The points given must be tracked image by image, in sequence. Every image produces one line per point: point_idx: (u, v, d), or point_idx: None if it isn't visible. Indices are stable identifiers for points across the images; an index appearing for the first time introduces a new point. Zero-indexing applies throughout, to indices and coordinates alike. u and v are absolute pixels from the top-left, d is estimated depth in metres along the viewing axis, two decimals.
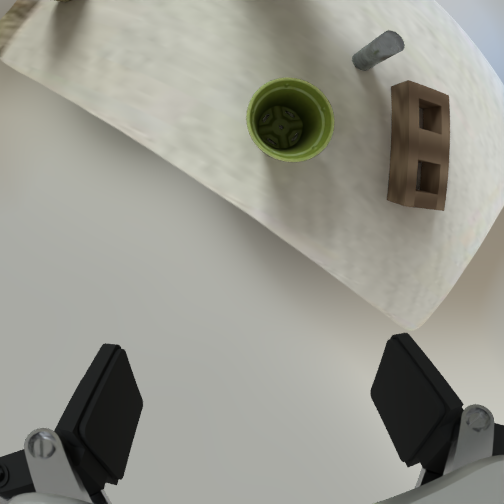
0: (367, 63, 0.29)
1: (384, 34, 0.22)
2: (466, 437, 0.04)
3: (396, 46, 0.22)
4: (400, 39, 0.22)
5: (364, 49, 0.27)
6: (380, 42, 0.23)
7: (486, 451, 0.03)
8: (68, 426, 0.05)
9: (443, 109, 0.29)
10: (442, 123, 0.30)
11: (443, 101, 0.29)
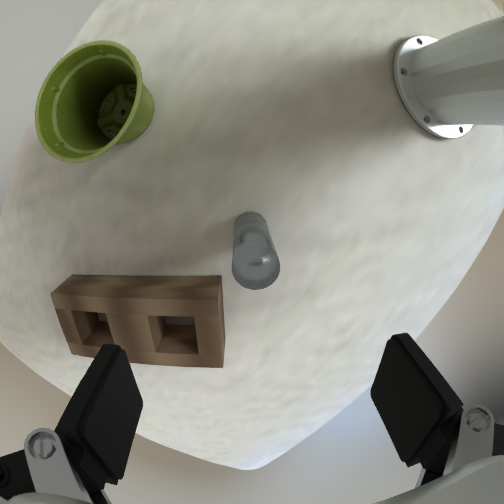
0: (235, 230, 0.24)
1: (264, 248, 0.17)
2: (466, 437, 0.04)
3: (244, 272, 0.18)
4: (264, 282, 0.18)
5: (255, 223, 0.22)
6: (248, 241, 0.18)
7: (486, 451, 0.03)
8: (68, 426, 0.05)
9: (195, 357, 0.26)
10: (172, 354, 0.26)
11: (208, 358, 0.26)
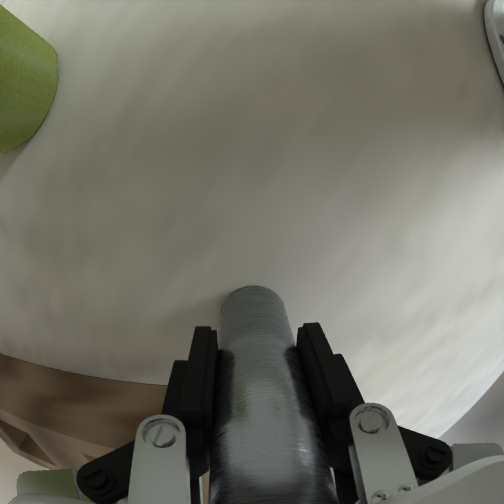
0: (218, 347, 0.10)
1: None
2: (365, 444, 0.05)
3: None
4: None
5: (267, 347, 0.08)
6: (256, 486, 0.04)
7: (370, 457, 0.04)
8: (192, 406, 0.06)
9: None
10: None
11: None
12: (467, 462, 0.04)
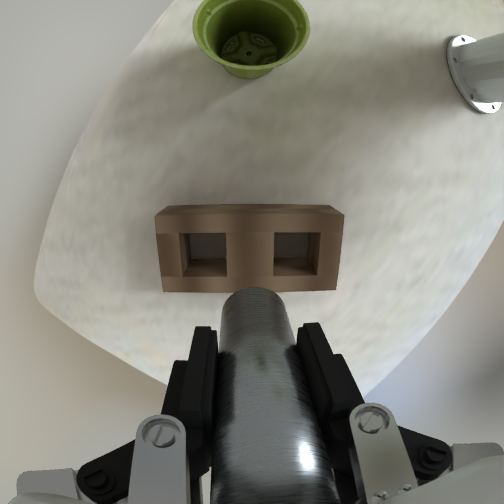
0: (219, 348, 0.10)
1: None
2: (365, 444, 0.05)
3: None
4: None
5: (268, 349, 0.08)
6: (258, 488, 0.04)
7: (370, 457, 0.04)
8: (192, 406, 0.06)
9: (312, 278, 0.28)
10: (290, 277, 0.28)
11: (324, 279, 0.28)
12: (467, 462, 0.04)
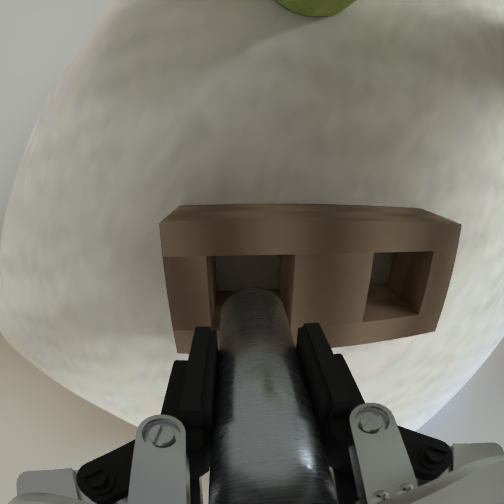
0: (218, 349, 0.10)
1: None
2: (365, 444, 0.05)
3: None
4: None
5: (267, 350, 0.08)
6: (256, 489, 0.04)
7: (370, 457, 0.04)
8: (192, 406, 0.06)
9: (412, 319, 0.16)
10: (385, 321, 0.16)
11: (426, 318, 0.16)
12: (467, 461, 0.04)
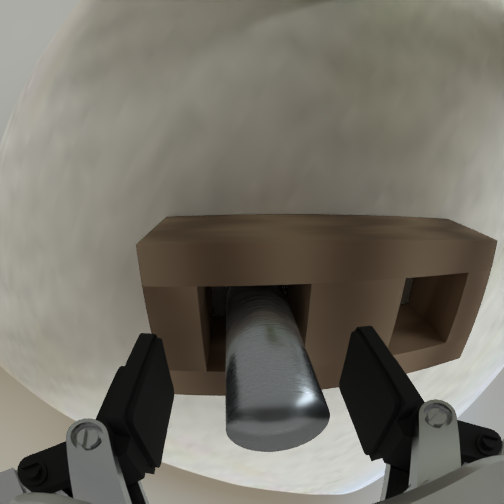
0: (227, 302, 0.13)
1: (301, 398, 0.06)
2: (428, 436, 0.05)
3: (253, 434, 0.07)
4: (293, 442, 0.07)
5: (265, 295, 0.12)
6: (262, 373, 0.07)
7: (443, 449, 0.04)
8: (116, 414, 0.05)
9: (439, 349, 0.13)
10: (410, 353, 0.13)
11: (452, 346, 0.13)
12: None
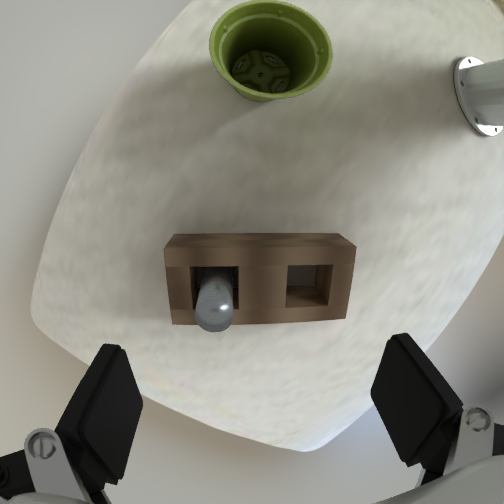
0: None
1: (219, 301, 0.21)
2: (466, 437, 0.04)
3: (204, 319, 0.21)
4: (221, 327, 0.22)
5: (218, 271, 0.26)
6: (208, 294, 0.22)
7: (486, 451, 0.03)
8: (68, 426, 0.05)
9: (323, 309, 0.28)
10: (302, 308, 0.27)
11: (335, 309, 0.28)
12: None
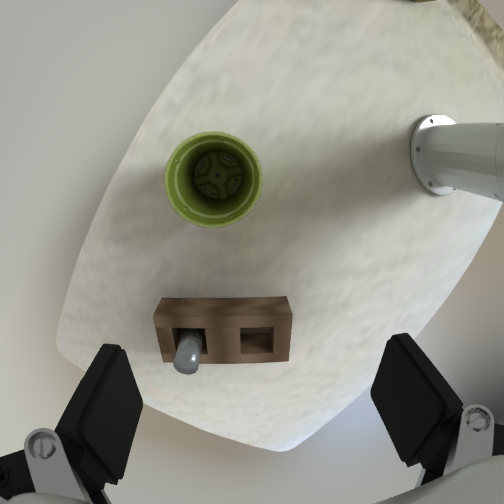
0: None
1: (188, 357, 0.31)
2: (466, 437, 0.04)
3: (180, 367, 0.31)
4: (191, 371, 0.31)
5: (192, 330, 0.36)
6: (181, 351, 0.31)
7: (486, 451, 0.03)
8: (68, 426, 0.05)
9: (270, 355, 0.37)
10: (253, 354, 0.37)
11: (279, 355, 0.37)
12: None
